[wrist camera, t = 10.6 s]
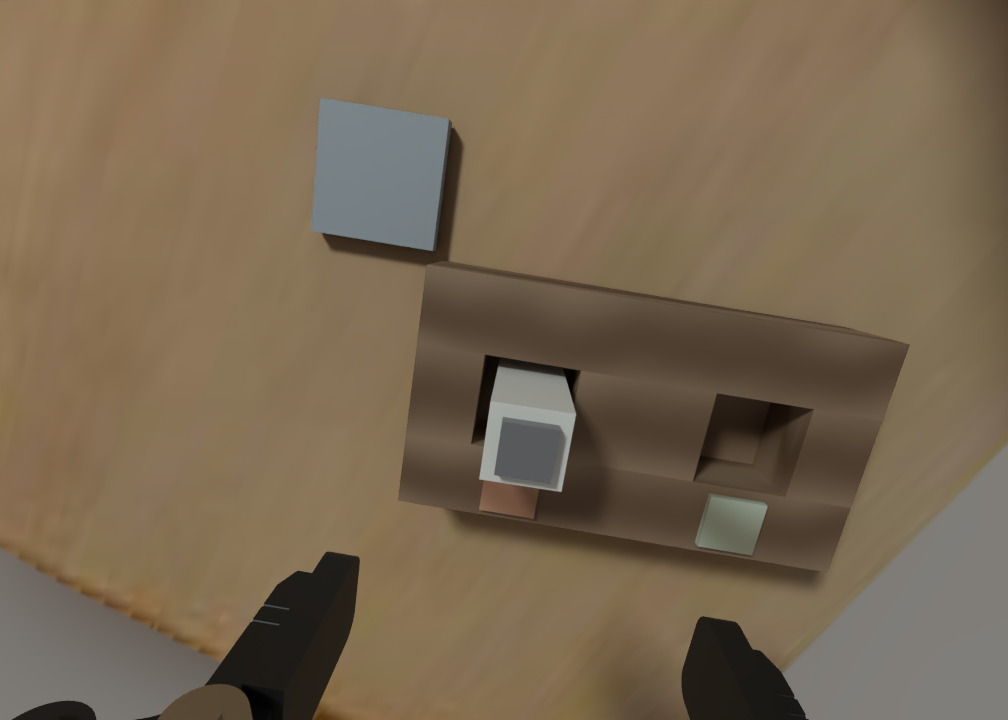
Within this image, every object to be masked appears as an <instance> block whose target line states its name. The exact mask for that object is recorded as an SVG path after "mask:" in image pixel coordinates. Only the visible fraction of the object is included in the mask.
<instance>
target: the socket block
mask: <svg viewBox="0 0 1008 720" xmlns="http://www.w3.org/2000/svg"><path fill="white" fill-rule="evenodd" d="M909 346H910V345H909V344H905V343H902V342H898V341H894V340H891V339H887V338H883V337H879V336H876V335H872V334H868V333H865V332H861V331H857V330H854V329H850V328H846V327H840V326H834V325H828V324H822V323H816V322H810V321H804V320H798V319H792V318H786V317H780V316H774V315H768V314H762V313H756V312H750V311H744V310H738V309H731V308H725V307H719V306H713V305H707V304H701V303H695V302H689V301H683V300H677V299H671V298H665V297H659V296H653V295H647V294H641V293H635V292H629V291H623V290H617V289H611V288H605V287H599V286H593V285H587V284H581V283H575V282H569V281H563V280H556V279H550V278H544V277H538V276H532V275H526V274H520V273H514V272H508V271H502V270H496V269H490V268H484V267H478V266H472V265H466V264H460V263H454V262H448V261H440V262H436V263H432V264H427V267H426V275H425V283H424V292H423V300H422V308H421V316H420V324H419V333H418V341H417V349H416V357H415V366H414V374H413V382H412V390H411V399H410V407H409V415H408V423H407V431H406V440H405V448H404V456H403V464H402V473H401V481H400V489H399V497H398V500H399V501H405V502H410V503H416V504H422V505H428V506H434V507H440V508H446V509H452V510H458V511H464V512H470V513H476V514H482V515H488V516H494V517H500V518H506V519H512V520H518V521H524V522H530V523H535V524H541V525H547V526H553V527H559V528H565V529H571V530H577V531H583V532H589V533H595V534H601V535H607V536H613V537H619V538H625V539H631V540H637V541H643V542H649V543H655V544H661V545H666V546H672V547H678V548H684V549H690V550H696V551H702V552H708V553H714V554H720V555H726V556H732V557H738V558H744V559H750V560H756V561H762V562H768V563H774V564H780V565H786V566H791V567H797V568H803V569H809V570H815V571H821V572H827V571H828V569H829V566H830V563H831V560H832V558H833V555H834V552H835V549H836V547H837V544H838V541H839V538H840V536H841V533H842V530H843V527H844V525H845V522H846V519H847V516H848V514H849V511H850V508H851V505H852V503H853V500H854V497H855V494H856V492H857V489H858V486H859V483H860V481H861V478H862V475H863V472H864V470H865V467H866V464H867V461H868V458H869V456H870V453H871V450H872V447H873V445H874V442H875V439H876V436H877V434H878V431H879V428H880V425H881V423H882V420H883V417H884V414H885V412H886V409H887V406H888V403H889V401H890V398H891V395H892V392H893V390H894V387H895V384H896V381H897V379H898V376H899V373H900V370H901V368H902V365H903V362H904V359H905V357H906V354H907V351H908V348H909ZM500 357H503V358H509V359H515V360H521V361H527V362H533V363H539V364H545V365H551V366H557V367H563V370H564V374H565V377H566V381H567V384H568V388H569V391H570V395H571V398H572V402H573V405H574V408H575V412H576V417H575V423H574V428H573V433H572V439H571V444H570V449H569V454H568V460H567V465H566V470H565V475H564V481H563V486H562V491H561V492H559V491H552V490H546V489H539V488H533V487H526V486H520V485H513V484H506V483H500V482H493V481H487V480H480V479H479V477H480V470H481V463H482V456H483V450H484V443H485V436H486V429H487V422H488V415H489V408H490V402H491V397H492V392H493V388H494V383H495V379H496V374H497V370H498V365H499V361H500Z"/></svg>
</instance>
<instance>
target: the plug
mask: <svg viewBox="0 0 1008 720" xmlns="http://www.w3.org/2000/svg"><path fill="white" fill-rule="evenodd" d="M575 417H576V412H575V408H574V405H573V402H572V398H571V395H570V391H569V388H568V384H567V381H566V377H565V374H564V370H563V367H557V366H551V365H545V364H539V363H533V362H527V361H521V360H515V359H509V358H503V357H500V361H499V365H498V370H497V374H496V379H495V383H494V388H493V392H492V397H491V402H490V408H489V415H488V422H487V429H486V436H485V443H484V450H483V456H482V463H481V470H480V477H479V479H480V480H487V481H493V482H500V483H506V484H513V485H520V486H526V487H533V488H539V489H546V490H552V491H559V492H561V491H562V486H563V481H564V475H565V470H566V465H567V460H568V454H569V449H570V444H571V439H572V433H573V428H574V423H575Z"/></svg>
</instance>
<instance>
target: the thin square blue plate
mask: <svg viewBox="0 0 1008 720" xmlns="http://www.w3.org/2000/svg"><path fill="white" fill-rule="evenodd" d="M451 126H452V122H451V121H450V119H447V118H441V117H435V116H429V115H423V114H417V113H411V112H405V111H399V110H393V109H387V108H381V107H374V106H368V105H362V104H356V103H350V102H344V101H338V100H332V99H326V98H320V108H319V123H318V138H317V153H316V169H315V184H314V199H313V214H312V229H311V231H314V232H320V233H326V234H333V235H339V236H345V237H351V238H357V239H363V240H369V241H375V242H381V243H387V244H393V245H399V246H405V247H411V248H417V249H423V250H429V251H436V246H437V238H438V230H439V222H440V214H441V206H442V198H443V190H444V182H445V174H446V166H447V158H448V150H449V142H450V134H451Z"/></svg>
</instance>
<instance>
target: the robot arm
mask: <svg viewBox="0 0 1008 720" xmlns="http://www.w3.org/2000/svg"><path fill="white" fill-rule="evenodd" d="M359 564H360V560H359V557H358V556H352V555H346V554H340V553H334V552H326V553H325V554H324V556H323V557H322V559H321V560H320V562H319V563H318V565H317V566H316V568H315V570H314V571H313V573H308V572H302V571H296V572H295V573H294V574H292V575H291V576H289V577H288V578H286V579H285V580H284V581H282V582H281V583H279V584H278V585H277V586H276V587H275V589H274V590H273V592H272V593H271V594H270V596H269V597H268V599H267V600H266V601H265V603H264V606H263V607H261V608H260V610H259V611H258V613H257V614H256V615H255V617H254V618H253V621H252V622H250V624H249V625H248V626H247V628H246V629H245V631H244V632H243V633H242V635H241V636H240V638H239V639H238V640H237V642H236V643H235V645H234V646H233V647H232V649H231V650H230V652H229V653H228V654H227V656H226V657H225V659H224V660H223V661H222V663H221V664H220V666H219V667H218V668H217V670H216V671H215V672H214V674H213V675H212V677H211V678H210V680H209V681H208V682H207V683H206V685H205V686H203V687H199V688H197V689H194V690H192V691H190V692H188V693H186V694H184V695H182V696H181V697H179V698H178V699H176V700H175V701H174V702H173V703H171V704H170V705H169V706H168V707H167V708H166V709H165V710H164V711H163V712H162V714H160V715H157V716H153V717H149V718H143V719H137V720H312V718H313V716H314V713H315V711H316V709H317V707H318V704H319V702H320V700H321V698H322V695H323V693H324V691H325V689H326V686H327V684H328V682H329V680H330V678H331V675H332V673H333V671H334V669H335V666H336V664H337V662H338V660H339V657H340V655H341V653H342V651H343V648H344V646H345V644H346V642H347V639H348V636H349V633H350V630H351V627H352V623H353V618H354V613H355V604H356V594H357V584H358V574H359ZM682 694H683V699H684V702H685V705H686V708H687V711H688V714H689V717H690V720H808V719H806V717H805V713H804V711H803V709H802V707H801V706H800V704H799V702H798V700H796V699H794V694H793V692H792V690H791V688H790V687H789V685H788V683H787V682H786V680H785V678H784V676H783V675H782V673H781V672H780V670H779V669H778V668H777V667H776V666H775V665H774V664H773V663H772V662H771V661H770V660H769V659H768V658H767V657H766V656H765V655H764V654H763V653H762V652H761V651H758V650H753V649H752V648H751V646H750V644H749V642H748V641H747V639H746V637H745V635H744V633H743V631H742V629H741V628H740V626H739V625H738V624H737V623H736V622H733V621H727V620H721V619H715V618H710V617H704V616H703V617H700V618H699V620H698V622H697V624H696V627H695V631H694V634H693V637H692V640H691V644H690V647H689V650H688V653H687V657H686V660H685V663H684V666H683V670H682ZM12 720H96V716H95V713H94V711H93V710H92V708H90V707H89V706H88V705H86V704H84V703H82V702H76V701H59V702H54V703H49V704H45V705H42V706H39V707H36V708H34V709H32V710H29V711H27V712H25V713H23V714H21V715H19V716H17V717H16V718H14V719H12Z"/></svg>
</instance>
